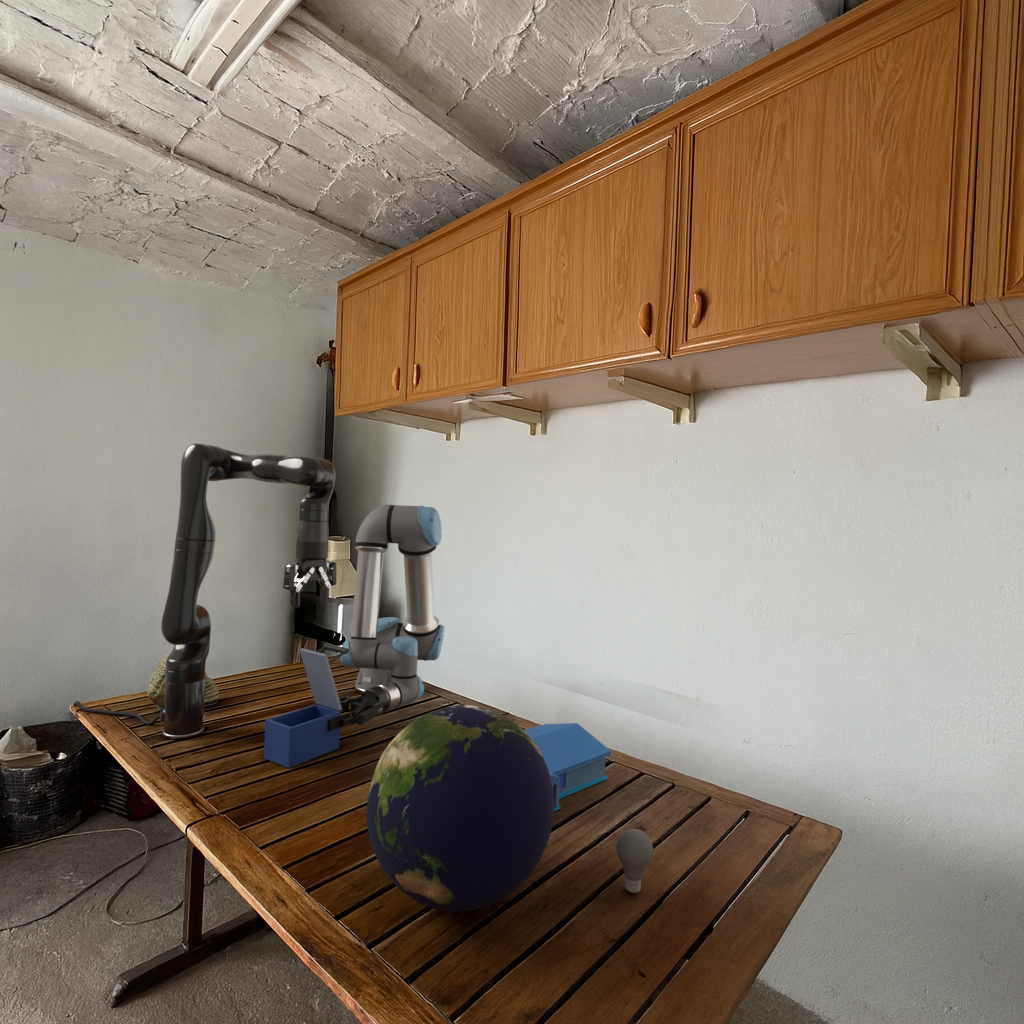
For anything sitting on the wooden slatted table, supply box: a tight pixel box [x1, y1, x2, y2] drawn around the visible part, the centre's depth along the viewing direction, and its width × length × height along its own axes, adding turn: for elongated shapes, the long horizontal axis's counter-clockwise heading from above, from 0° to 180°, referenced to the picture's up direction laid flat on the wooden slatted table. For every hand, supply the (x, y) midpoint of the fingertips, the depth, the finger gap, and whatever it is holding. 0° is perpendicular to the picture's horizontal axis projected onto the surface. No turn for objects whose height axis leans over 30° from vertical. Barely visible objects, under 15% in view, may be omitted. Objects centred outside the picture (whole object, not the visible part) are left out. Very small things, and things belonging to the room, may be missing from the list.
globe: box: [366, 704, 555, 913], centre depth 102 cm, size 30×30×30 cm
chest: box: [263, 703, 342, 769], centre depth 156 cm, size 15×9×9 cm, turn 147°
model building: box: [523, 722, 612, 812], centre depth 142 cm, size 39×24×10 cm, turn 132°
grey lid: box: [299, 642, 349, 711], centre depth 162 cm, size 16×9×8 cm
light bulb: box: [615, 828, 654, 894], centre depth 106 cm, size 6×6×10 cm
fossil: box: [147, 654, 221, 712], centre depth 185 cm, size 9×18×15 cm, turn 132°
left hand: (309, 605), depth 155 cm, fingers open, 8 cm apart
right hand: (315, 720), depth 159 cm, fingers closed on chest, 9 cm apart
